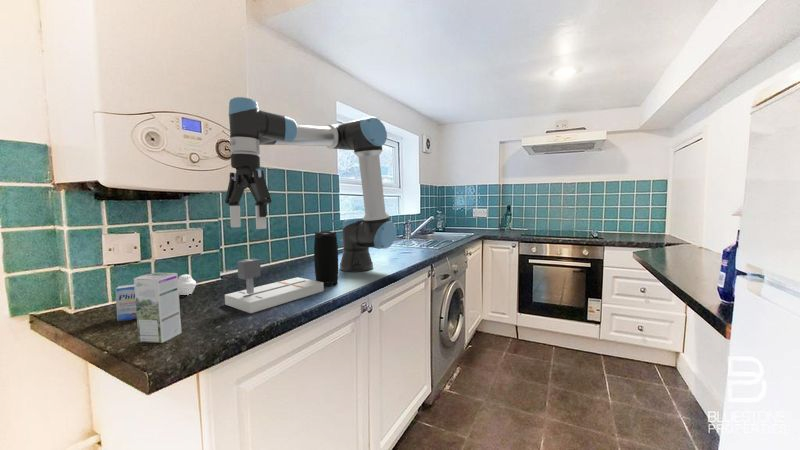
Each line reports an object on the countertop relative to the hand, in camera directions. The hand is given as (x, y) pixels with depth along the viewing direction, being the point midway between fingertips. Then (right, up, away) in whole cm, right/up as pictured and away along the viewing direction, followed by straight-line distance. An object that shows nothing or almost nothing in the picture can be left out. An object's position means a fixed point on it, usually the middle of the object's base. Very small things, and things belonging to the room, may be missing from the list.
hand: (248, 228), depth 91 cm
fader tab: (0, -19, +1) cm, 19 cm away
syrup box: (-10, -25, -21) cm, 34 cm away
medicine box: (-26, -24, -7) cm, 36 cm away
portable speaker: (+17, -21, +25) cm, 37 cm away
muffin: (-27, -23, +13) cm, 38 cm away
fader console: (+5, -22, +9) cm, 25 cm away
